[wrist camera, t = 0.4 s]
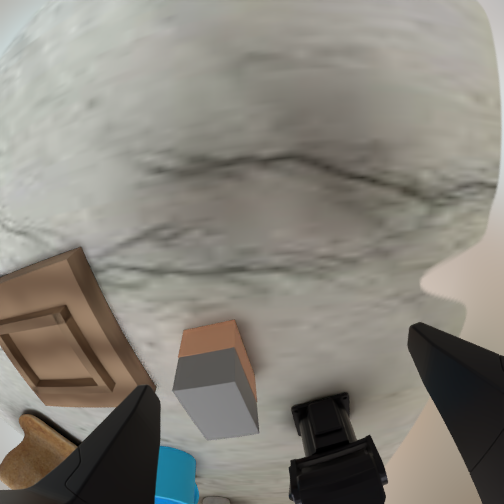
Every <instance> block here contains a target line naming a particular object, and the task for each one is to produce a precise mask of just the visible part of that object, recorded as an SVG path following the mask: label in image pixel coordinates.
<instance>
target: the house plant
mask: <svg viewBox="0 0 504 504" xmlns="http://www.w3.org/2000/svg"><path fill="white" fill-rule="evenodd" d="M202 504H230V501H229V499H227V498H224V497H205V498H204V499H203V503H202Z"/></svg>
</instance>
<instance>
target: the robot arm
mask: <svg viewBox="0 0 504 504" xmlns="http://www.w3.org/2000/svg"><path fill="white" fill-rule="evenodd" d="M408 349H409V352H410V354H411V356H412V358H413V361H414V363H415V365H416V368H417V370H418V372H419V375H420V377H421V379H422V381H423V384H424V385H425V387H426V389H427V391H428V393H429V394H430V396H431V398H432V400H433V401H434V403H435V405H436V407H437V409H438V411H439V413H440V414H441V416H442V418H443V420H444V422H445V424H446V426H447V428H448V430H449V431H450V434H451V435H452V437H453V439H454V441H455V443H456V445H457V447H458V450H459V452H460V453H461V456H462V458H463V460H464V462H465V464H466V466H467V468H468V471H469V472H470V475H471V478H472V480H473V482H474V484H475V487H476V489H477V491H478V494H479V496H480V498H481V501H482V504H504V356H502V355H500V356H499V354H497V353H495V352H492V351H490V350H487V349H485V348H482V347H480V346H477V345H475V344H473V343H470V342H468V341H465V340H463V339H461V338H458V337H456V336H453V335H451V334H449V333H446V332H444V331H441V330H439V329H436V328H434V327H432V326H429V325H427V324H424V323H422V322H418V323H416V324H413V325H411V326H410V327H409V334H408ZM291 410H292V414H293V418H294V421H295V425H296V428H297V432H298V435H299V436H301V437H302V442H303V446H304V451H305V456H306V457H304V458H300V459H293V460H290V461H291V466H290V467H289V473H290V488H289V499H290V500H292V501H294V502H295V504H384V502H385V498H386V495H385V492H384V488H383V485H385V484H387V483H388V480H387V475H386V471H385V468H384V465H383V462H382V460H381V457H380V455H379V453H378V451H377V449H376V446H375V444H374V442H373V440H372V438H371V436H370V435H368V436H366V437H365V438H363V439H360V440H357V439H356V436H355V433H354V431H353V428H352V425H351V422H350V419H349V395H348V393H342V394H339V395H336V396H332V397H329V398H325V399H322V400H318V401H314V402H310V403H307V404H303V405H298V406H295V407H293V408H292V409H291ZM160 411H161V404H160V400H159V398H158V397H157V395H156V394H155V392H154V390H153V389H152V387H151V386H150V385H148V384H145V385H138V386H137V387H136V388H135V389H134V390H133V391H132V392H131V393H130V394H129V395H128V396H127V397H126V398H125V399H124V400H123V401H122V402H121V403H120V404H119V405H118V406H117V407H116V408H115V409H114V410H113V411H112V412H111V413H110V414H109V416H108V417H107V418H106V419H105V420H104V421H103V422H102V423H101V424H100V425H99V426H98V427H97V428H96V429H95V430H94V431H93V432H92V433H91V434H90V435H89V436H88V437H87V438H86V439H85V440H84V441H83V442H82V443H81V444H80V445H79V447H77V448H76V449H75V450H74V451H73V452H72V453H71V454H70V455H69V456H68V457H67V458H66V459H65V460H64V461H63V462H61V463H60V464H59V465H58V466H57V467H56V468H54V469H53V470H52V471H51V472H50V473H48V474H47V475H46V476H45V477H43V478H42V479H41V480H40V481H38V482H37V483H36V484H34V485H33V486H31V487H28V488H25V489H16V490H0V504H155V491H156V479H157V468H158V458H159V449H160Z"/></svg>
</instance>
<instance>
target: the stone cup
mask: <svg viewBox="0 0 504 504" xmlns="http://www.w3.org/2000/svg"><path fill="white" fill-rule="evenodd" d="M19 423H20V426H21V427H22V429H23V430H24V433H25V436H24V439H23V441H22V442H21V443H20V444H19V445H18V446H17V447H16V448H14V449H13V450H12V451H10V452H9V453H8V454H7V455H6V457H5V458H4V460H3V461H2V463H1V464H0V480H1V481H2V482H3V483H4V484H6V485H7V486H8V487H9V488H11V489H12V490H16V489H25V488H28V487H31V486H33V485H34V484H36V483H37V482H38V481H40V480H41V479H42V478H43V477H45V476H46V475H47V474H48V473H50V472H51V471H52V470H53V469H54V468H56V467H57V466H58V465H59V464H60V463H61V462H63V461H64V460H65V459H66V458H67V457H68V456H69V455H70V454H71V453H72V452H73V451H74V450H75V449H76V448H77V447H78V446H76V445H75V444H73V443H72V442H70V441H69V440H68V439H66V438H65V437H63V436H62V435H61V434H59V433H58V432H57V431H55V430H54V429H53V428H51V427H50V426H48V425H47V424H46V423H44V422H43V421H41V420H40V419H38V418H37V417H35V416H33V415H30V414H24V415H22V416H20V418H19Z"/></svg>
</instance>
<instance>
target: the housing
mask: <svg viewBox="0 0 504 504" xmlns="http://www.w3.org/2000/svg"><path fill="white" fill-rule="evenodd" d="M178 358H179V360H178V364H177V369H176V375H175V380H174V385H173V390H172V391H173V393H174V394H175V396H176V397H177V399H178V400H179V402H180V403H181V405H182V406H183V408H184V409H185V410H186V412H187V413H188V415H189V416H190V418H191V419H192V420H193V422H194V423H195V425H196V426H197V427H198V429H199V430H200V431H201V433H202V434H203V435H204V437H205V438H206V439H207V440H217V439H225V438H233V437H240V436H247V435H253V434H259V424H258V413H257V395H256V384H255V375H254V372H253V369H252V367H251V364H250V361H249V359H248V356H247V353H246V350H245V348H244V345H243V342H242V339H241V336H240V334H239V331H238V328H237V325H236V322H235V319H234V320H230V321H225V322H221V323H216V324H211V325H207V326H202V327H197V328H192V329H187V330H184V332H183V336H182V341H181V346H180V350H179V355H178Z"/></svg>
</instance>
